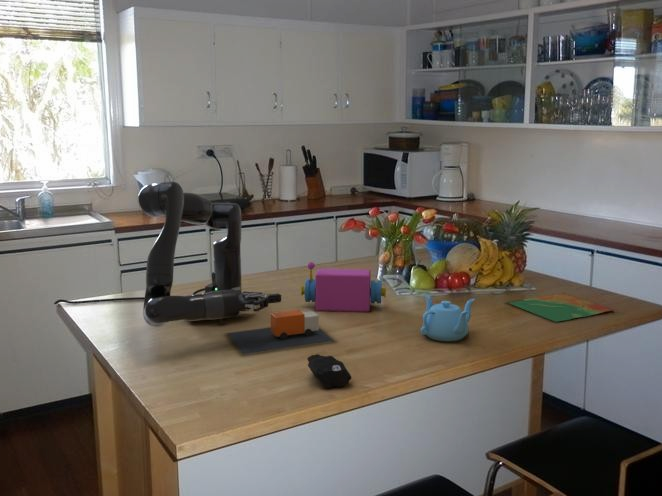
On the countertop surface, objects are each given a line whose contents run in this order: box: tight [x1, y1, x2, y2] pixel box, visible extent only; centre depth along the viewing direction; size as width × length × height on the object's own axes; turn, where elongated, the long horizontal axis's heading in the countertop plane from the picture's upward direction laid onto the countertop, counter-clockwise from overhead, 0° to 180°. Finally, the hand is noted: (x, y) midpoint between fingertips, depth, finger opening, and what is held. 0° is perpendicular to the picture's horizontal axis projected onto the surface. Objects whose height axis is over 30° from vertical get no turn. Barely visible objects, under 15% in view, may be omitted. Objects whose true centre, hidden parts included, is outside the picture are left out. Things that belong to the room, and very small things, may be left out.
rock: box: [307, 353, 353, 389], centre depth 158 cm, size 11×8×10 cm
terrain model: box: [508, 292, 615, 323], centre depth 218 cm, size 25×22×1 cm
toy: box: [300, 261, 387, 313], centre depth 217 cm, size 28×9×15 cm, turn 85°
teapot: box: [420, 293, 476, 342], centre depth 190 cm, size 15×15×10 cm
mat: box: [227, 327, 335, 355], centre depth 188 cm, size 26×18×1 cm
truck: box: [269, 309, 320, 340], centre depth 190 cm, size 7×5×13 cm
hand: (280, 297), depth 186 cm, fingers closed
